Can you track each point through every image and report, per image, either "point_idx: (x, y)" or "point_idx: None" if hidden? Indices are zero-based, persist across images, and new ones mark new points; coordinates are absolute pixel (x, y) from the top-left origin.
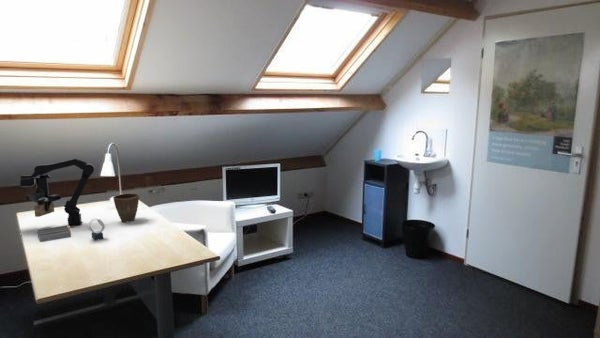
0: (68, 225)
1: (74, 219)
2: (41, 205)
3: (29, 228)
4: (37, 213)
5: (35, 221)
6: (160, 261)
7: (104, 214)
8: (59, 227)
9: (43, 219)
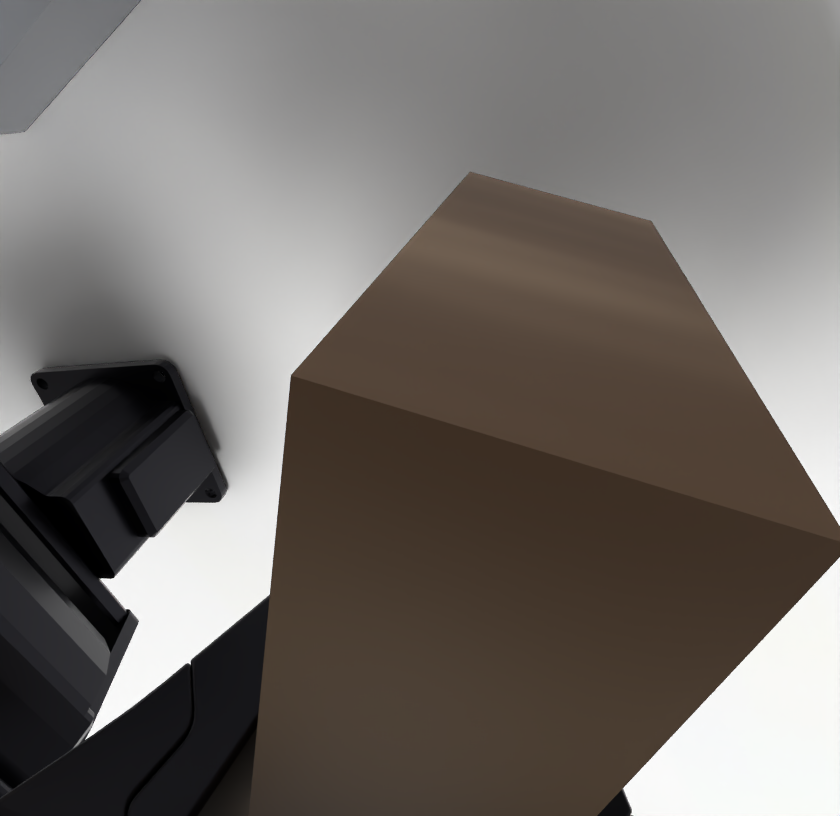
0: (161, 363)
1: (17, 424)
2: (305, 734)
3: (818, 320)
4: (514, 220)
5: (816, 682)
6: None
7: (119, 704)
8: (5, 14)
9: (720, 729)
